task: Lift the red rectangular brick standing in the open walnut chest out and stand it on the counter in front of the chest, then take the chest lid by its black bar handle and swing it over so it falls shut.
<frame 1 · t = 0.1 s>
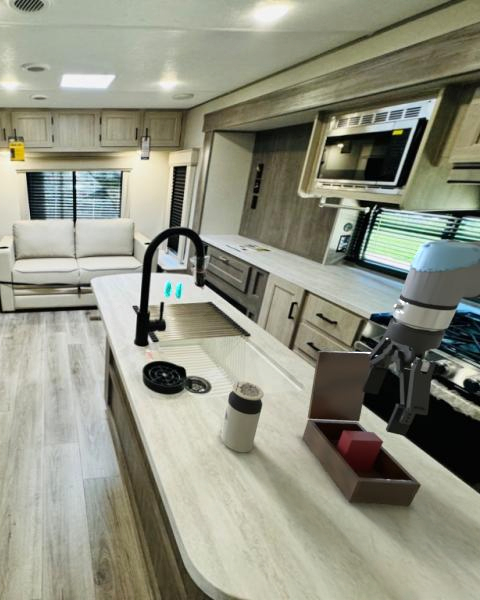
hand: (381, 410, 68), 22 cm above the counter, tool pointing down, fingers open, 13 cm apart
chest: (349, 468, 79), on the counter
lid: (332, 382, 86), point 17 cm above the counter, hinge at 100.0°
travel mug: (236, 442, 88), on the counter
red rectangular brick: (350, 465, 79), point 1 cm above the counter, touching chest
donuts: (172, 297, 193), on the counter
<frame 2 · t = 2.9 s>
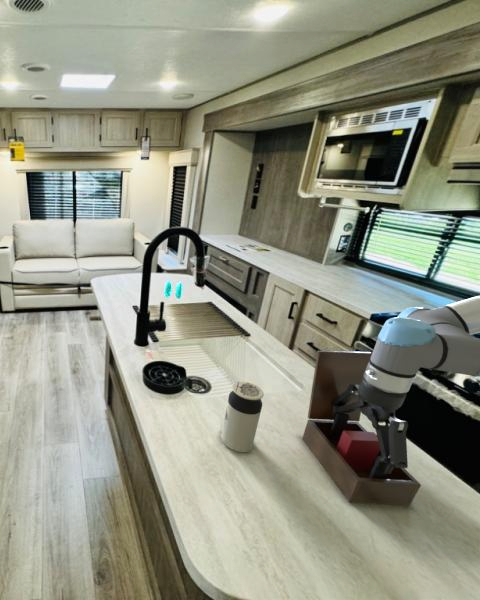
hand: (354, 454, 77), 5 cm above the counter, tool pointing down, fingers open, 13 cm apart
lid: (332, 382, 86), point 17 cm above the counter, hinge at 100.5°
everything else where it was.
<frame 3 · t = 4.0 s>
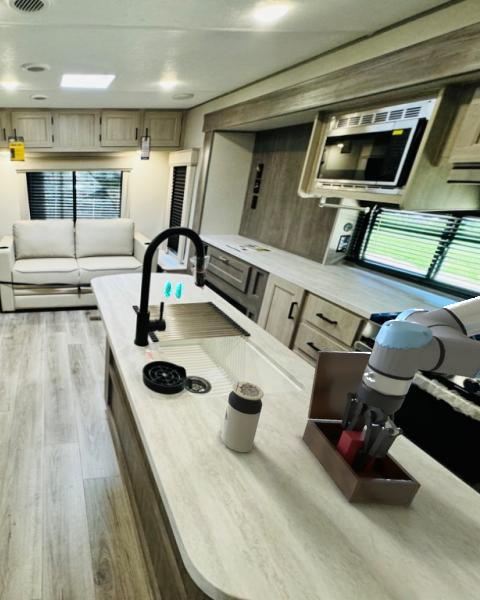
hand: (351, 462, 79), 2 cm above the counter, tool pointing down, fingers closed on red rectangular brick, 3 cm apart
lid: (332, 382, 86), point 17 cm above the counter, hinge at 100.0°
red rectangular brick: (350, 466, 79), point 1 cm above the counter, touching chest, gripper
everything else where it was.
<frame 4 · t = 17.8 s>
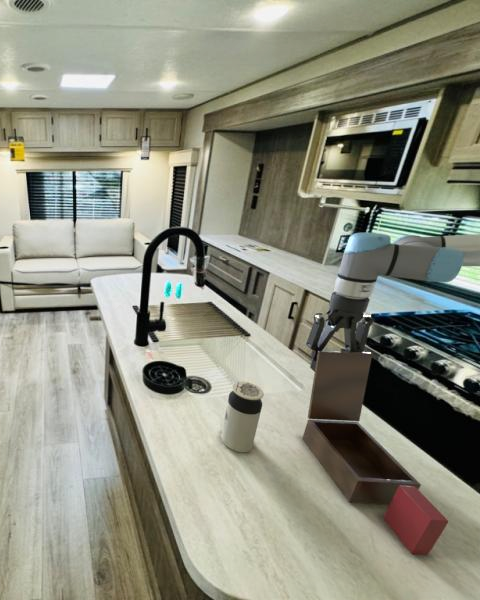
hand: (326, 370, 88), 18 cm above the counter, tool pointing down, fingers closed on lid, 6 cm apart
lid: (332, 382, 86), point 17 cm above the counter, hinge at 100.0°, touching gripper
red rectangular brick: (404, 535, 65), on the counter
everything else where it was.
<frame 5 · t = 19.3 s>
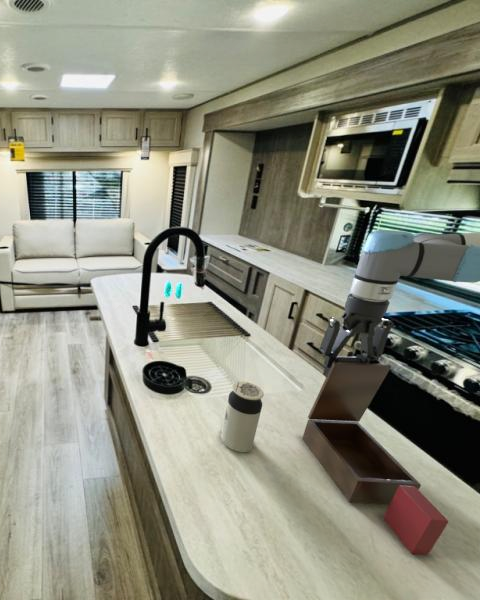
hand: (341, 377, 83), 20 cm above the counter, tool pointing down, fingers closed on lid, 6 cm apart
lid: (340, 386, 83), point 17 cm above the counter, hinge at 82.6°, touching gripper
everything else where it was.
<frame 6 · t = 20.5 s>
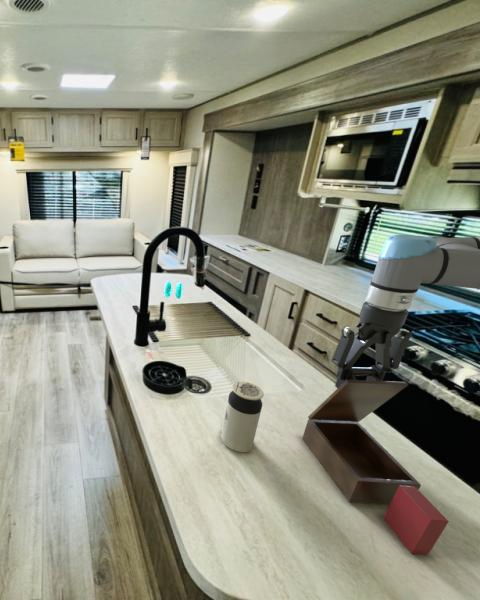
hand: (354, 389, 78), 20 cm above the counter, tool pointing down, fingers closed on lid, 6 cm apart
lid: (347, 393, 80), point 17 cm above the counter, hinge at 66.6°, touching gripper
everything else where it was.
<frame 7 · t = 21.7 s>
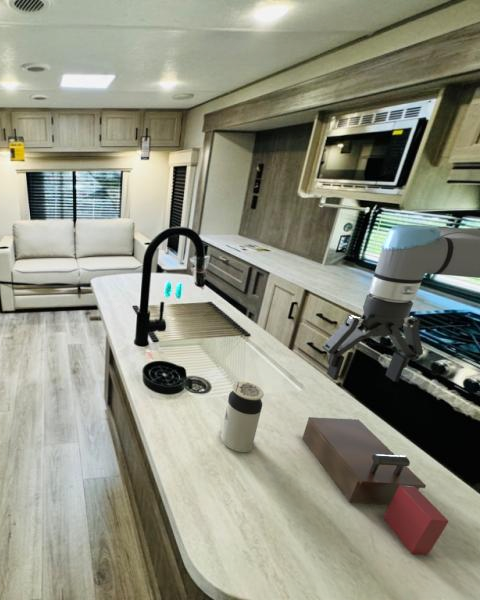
hand: (361, 377, 76), 23 cm above the counter, tool pointing down, fingers open, 13 cm apart
lid: (362, 440, 75), point 10 cm above the counter, hinge at -0.1°
everything else where it was.
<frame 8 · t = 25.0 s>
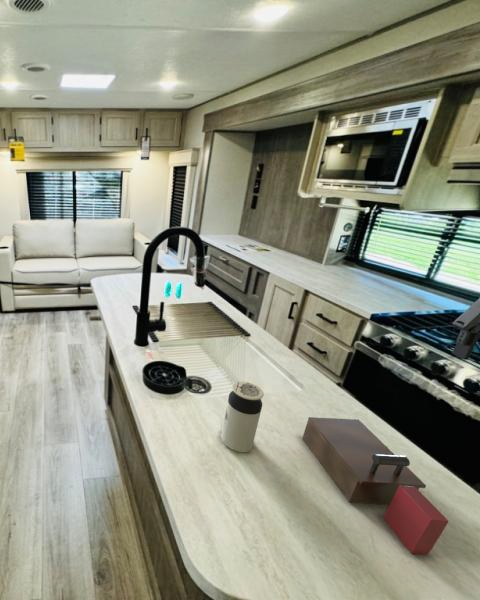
nothing on the counter moved.
at the end: red rectangular brick inside the target area (0.0 cm from its centre), on the counter; lid at +0° (first picture: +100°) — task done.
